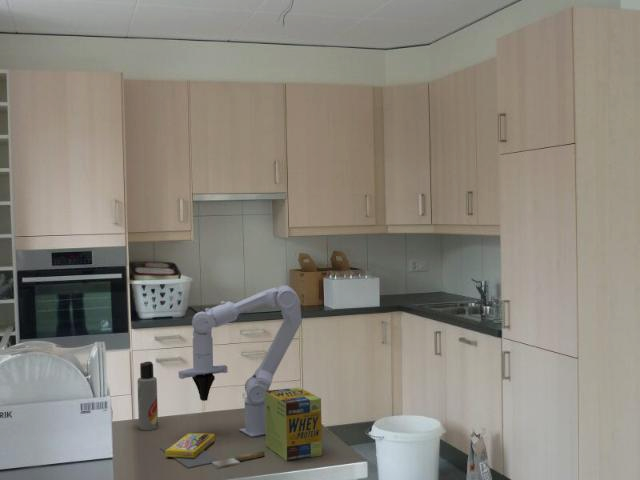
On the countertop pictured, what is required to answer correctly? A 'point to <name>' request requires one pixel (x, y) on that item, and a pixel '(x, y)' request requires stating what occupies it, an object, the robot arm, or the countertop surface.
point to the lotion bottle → (147, 398)
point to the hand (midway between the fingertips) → (203, 399)
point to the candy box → (190, 445)
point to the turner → (237, 459)
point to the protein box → (293, 423)
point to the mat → (194, 459)
